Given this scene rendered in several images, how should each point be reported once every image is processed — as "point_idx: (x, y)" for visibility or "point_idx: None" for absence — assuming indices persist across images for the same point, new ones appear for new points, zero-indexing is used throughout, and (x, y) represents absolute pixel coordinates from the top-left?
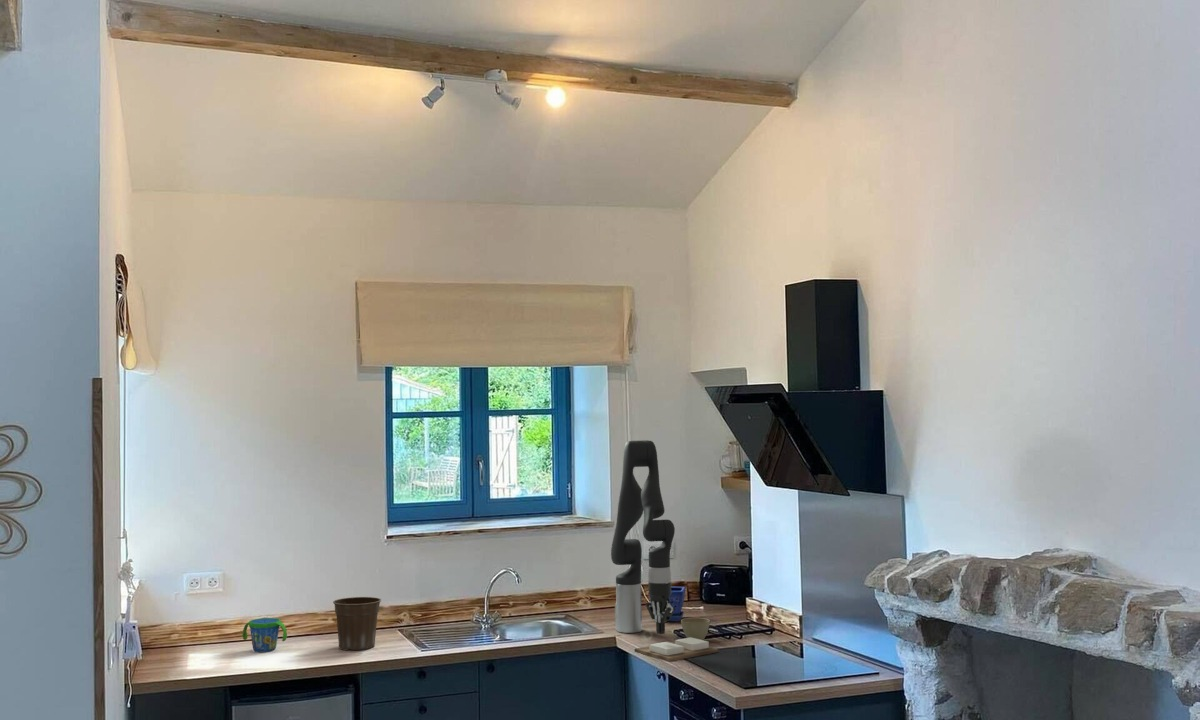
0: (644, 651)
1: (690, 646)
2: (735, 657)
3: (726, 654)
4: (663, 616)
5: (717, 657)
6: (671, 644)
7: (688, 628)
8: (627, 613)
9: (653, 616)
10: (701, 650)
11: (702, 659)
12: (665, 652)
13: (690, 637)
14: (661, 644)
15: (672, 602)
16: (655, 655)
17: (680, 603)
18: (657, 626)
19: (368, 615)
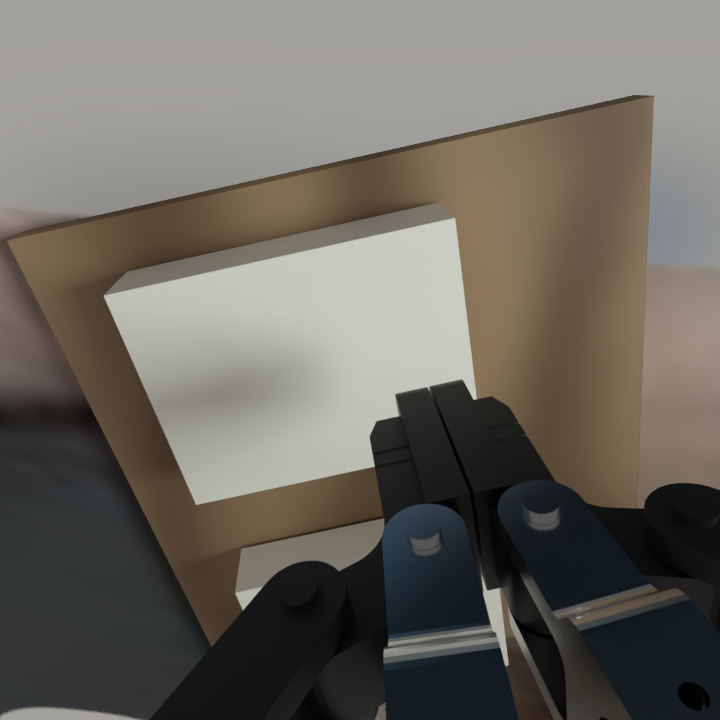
0: (458, 139)
1: (268, 566)
2: (33, 701)
3: (146, 688)
4: (255, 689)
5: (69, 621)
6: (329, 440)
7: None
8: None
9: (681, 545)
10: (236, 601)
11: (29, 519)
12: (143, 274)
13: (506, 661)
14: (383, 350)
15: None
16: (254, 184)
17: None
18: (466, 442)
19: None
